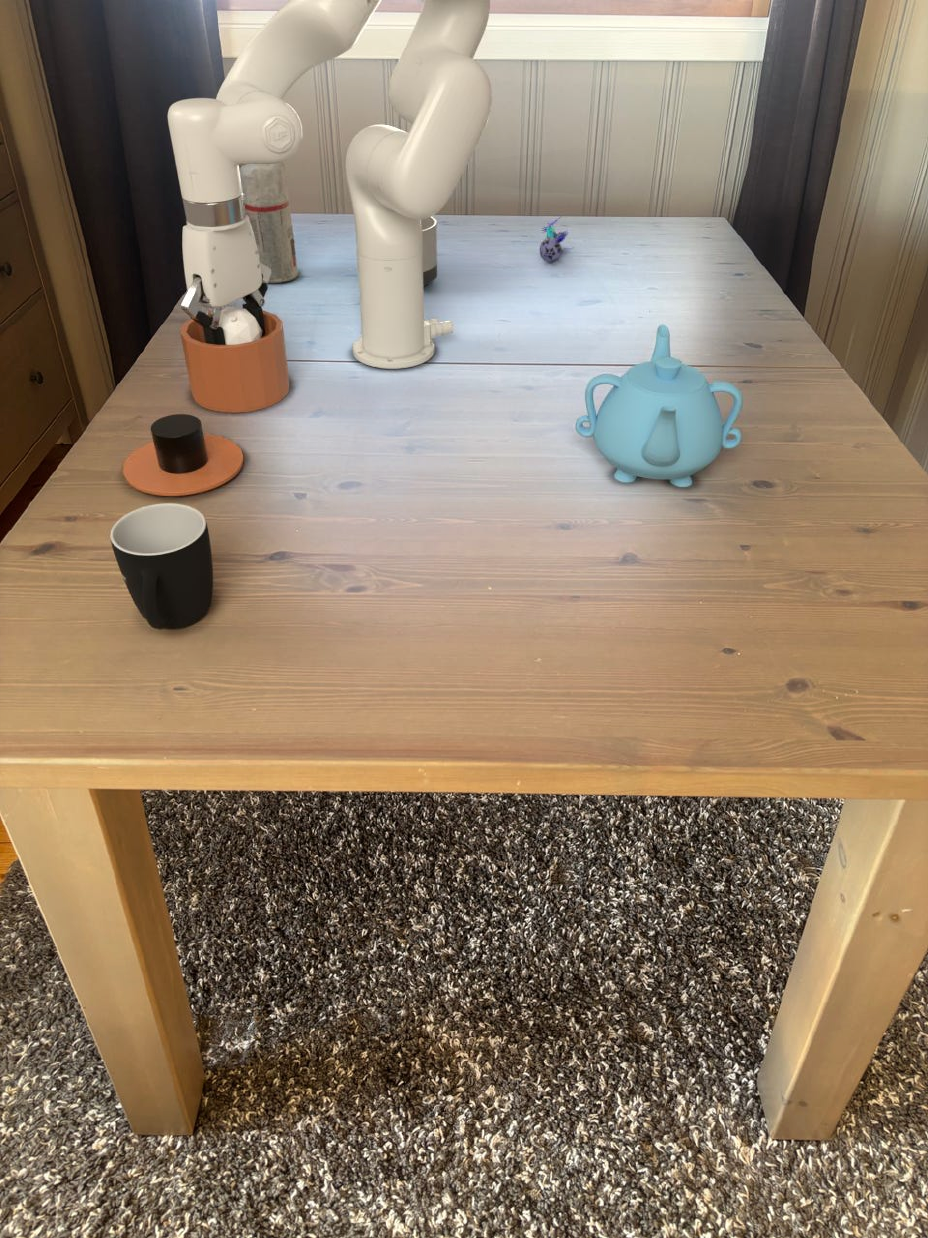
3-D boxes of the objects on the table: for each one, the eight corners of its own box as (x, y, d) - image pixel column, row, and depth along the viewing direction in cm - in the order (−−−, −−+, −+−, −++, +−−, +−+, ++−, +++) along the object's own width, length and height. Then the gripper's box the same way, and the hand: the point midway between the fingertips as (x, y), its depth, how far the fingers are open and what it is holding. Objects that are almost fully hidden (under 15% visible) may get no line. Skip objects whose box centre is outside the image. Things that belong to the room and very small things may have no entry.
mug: (143, 584, 99) (122, 502, 93) (229, 583, 100) (213, 501, 93) (115, 660, 90) (89, 575, 84) (209, 658, 90) (190, 574, 84)
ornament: (273, 347, 134) (272, 317, 127) (236, 380, 132) (233, 351, 125) (236, 315, 135) (233, 283, 127) (199, 348, 132) (194, 317, 125)
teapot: (650, 517, 110) (668, 408, 101) (553, 447, 123) (561, 344, 114) (751, 481, 117) (776, 375, 108) (649, 417, 130) (664, 318, 121)
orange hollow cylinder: (271, 363, 142) (263, 301, 136) (303, 400, 133) (296, 335, 127) (181, 381, 137) (169, 318, 131) (208, 420, 128) (196, 354, 122)
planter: (450, 279, 171) (450, 218, 164) (410, 300, 162) (408, 238, 156) (393, 265, 176) (391, 206, 169) (351, 286, 167) (347, 225, 161)
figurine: (536, 221, 184) (531, 243, 175) (563, 207, 181) (559, 228, 172) (551, 251, 187) (546, 274, 178) (578, 238, 185) (574, 260, 176)
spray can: (290, 286, 167) (276, 165, 154) (246, 283, 168) (229, 162, 156) (305, 270, 173) (294, 152, 161) (263, 267, 175) (248, 149, 162)
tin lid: (224, 431, 125) (217, 389, 122) (259, 482, 116) (253, 437, 112) (113, 456, 120) (101, 413, 116) (140, 512, 110) (128, 466, 106)
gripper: (239, 188, 126) (258, 317, 138) (142, 223, 115) (172, 360, 127) (282, 197, 123) (298, 327, 135) (187, 233, 112) (213, 373, 123)
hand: (236, 342), depth 131 cm, fingers closed on ornament, 7 cm apart
